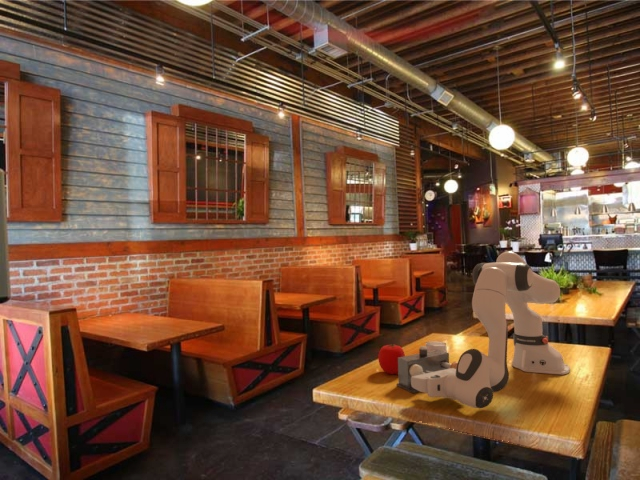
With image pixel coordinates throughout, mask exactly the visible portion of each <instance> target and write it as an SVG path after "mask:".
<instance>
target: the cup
mask: <svg viewBox="0 0 640 480" xmlns="http://www.w3.org/2000/svg"><path fill="white" fill-rule="evenodd" d="M425 346H426V349H427V352H430V351H435V350H441V351H444V352H447V353H448V349H447V342H445V341H440V340H439V341H438V340H434V341H433V340H432V341H431V340H430V341H427V342H425Z"/></svg>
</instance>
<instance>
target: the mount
mask: <svg viewBox="0 0 640 480" xmlns="http://www.w3.org/2000/svg"><path fill="white" fill-rule="evenodd" d="M441 361H444V362H447V363H450V353H449V352H448V351H447V352H444V351H441V350H435V351H430V352H428V356H420V355H419V353H415V354H409V355H405V356H404V357H399V358H398V374H397V375H398V383H396V387H399V388H400V389H403V390H405V391H407V392H409V393H411V394H417V393H421V392H420V391H418V390H416V389H414V388H413V387H412V386H411V377H412V376H411V375H410V373H409V369H410V367H411V366H412V365H413V364H417V365H420V366H421V367H422V369H423V371H429V372H435V371H440V370H444V369H449V368H446V367H443V366H441Z"/></svg>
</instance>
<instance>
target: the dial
mask: <svg viewBox="0 0 640 480" xmlns="http://www.w3.org/2000/svg"><path fill="white" fill-rule="evenodd" d="M418 351H419V353H418V354H419V355H420V356H428V352H427V349H426V345H419V349H418Z"/></svg>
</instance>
